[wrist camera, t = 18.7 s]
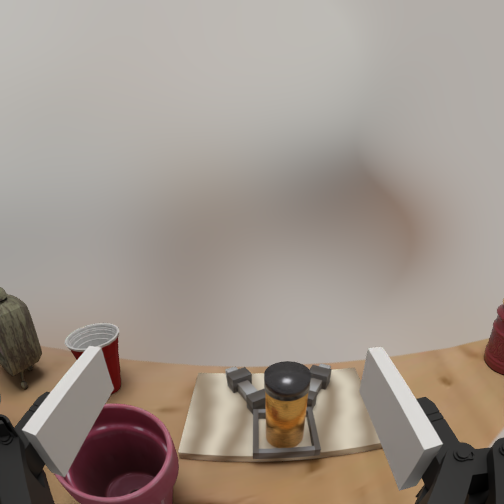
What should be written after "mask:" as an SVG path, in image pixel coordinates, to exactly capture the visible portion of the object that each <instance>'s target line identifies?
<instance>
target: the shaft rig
mask: <svg viewBox="0 0 504 504" xmlns="http://www.w3.org/2000/svg"><path fill="white" fill-rule="evenodd" d="M330 368H331V366H329V365H325V364H320V365H319V366H315V365H312V367H311V368H310V372H311V382H310V390H309V392H308V400H307V409H306V418H305V426H304V434H303V439H302V441H301V442H300V443H299V444H298V445H297V446H295V447H292V448H276V447H274V446H272V445H271V444H269V443H268V441H267V440H266V398H265V389H264V373H262V374H251V373H250V372H249V371H248V370H247V369H246V368H245V367H244V368H241V369H237V368H236V367H232V368H229V369H225V370H226V374H221V373H198V377H197V381H196V384H195V388H194V392H193V396H192V400H191V404H190V407H189V411H188V415H187V419H186V423H185V427H184V431H183V435H182V439H181V443H180V447H179V451H178V453H179V456H180V458H185V459H195V460H209V461H230V462H269V461H291V460H304V459H315V458H324V457H332V456H340V455H346V454H353V453H359V452H364V451H370V450H375V449H380V448H383V447H382V445H381V443H380V440H379V438H378V435H377V433H376V430H375V428H374V425H373V423H372V421H371V418H370V416H369V413H368V411H367V409H366V406H365V404H364V402H363V399H362V397H361V395H360V392H359V389H360V385H361V380H360V378H359V376H358V374H357V372H356V369H355V368H346V369H335V370H332V369H330Z"/></svg>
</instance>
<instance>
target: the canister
mask: <svg viewBox="0 0 504 504" xmlns="http://www.w3.org/2000/svg"><path fill="white" fill-rule="evenodd" d="M497 313H498V316H497V319H496V320H495V321H494V323H493V329H492V332H491V335H490V338H489V342H488V344H487V345H486V348H485V354H484V359H485V361H486V363H487V364H488V366H489V367H490V368H492V369H493V370H495V371H496V372H498V373H501V374H504V299H503V305H500V306H499V307H498V309H497Z"/></svg>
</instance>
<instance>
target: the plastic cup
mask: <svg viewBox="0 0 504 504" xmlns="http://www.w3.org/2000/svg"><path fill="white" fill-rule="evenodd" d="M118 335H119V329H118V327H117V326H115V325H114V324H109V323H96V324H92V325H87V326H84V327H82V328H79V329H77V330H75V331H73V332H72V333H70V334H69V335H68V336H67V337H66V339H65V345H66V346H67V347H68V348H69V349H70V350H71V352H72V353H73V355H74V356H75V358H76V359H77V360H78V358H79V357H80V356H81V355H82V354H83V353H84V351H85V350H86V349H87V348H88V347H89V346H94V347H101V348H102V352H103V355H104V359H105V362H106V365H107V369H108V372H109V375H110V378H111V381H112V384H113V387H114V390H113V391H112V393H111V394H113V393H115V392H117V391H118V390H119V389H120V386H121V378H120V364H119V354H118Z"/></svg>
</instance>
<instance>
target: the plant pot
mask: <svg viewBox="0 0 504 504" xmlns="http://www.w3.org/2000/svg"><path fill="white" fill-rule="evenodd" d="M178 469H179V464H178V457H177V453H176V450H175V447H174V444H173V441H172V438H171V436H170V433H169V431H168V430H167V428H166V427H165V425H164V424H163V423H162V422H161V421H160V420H159V419H158V418H157V417H156V416H154V415H153V414H151V413H149V412H148V411H146V410H143V409H141V408H138V407H135V406H131V405H125V404H105V405H104V407H103V409H102V410H101V412H100V414H99V416H98V417H97V419H96V421H95V423H94V424H93V426H92V428H91V430H90V432H89V433H88V435H87V437H86V439H85V441H84V442H83V444H82V446H81V448H80V450H79V452H78V453H77V455H76V457H75V459H74V461H73V463H72V465H71V467H70V468H69V470H68V472H67V474H66V476H65V477H62V476H60V475H57V474H55V473H54V474H55V476H56V477H57V479H58V480H59V482H60V483H61V484H62V485H63V486H64V488H65V489H66V490H67V491H68V492H69V493H70V494H71V495H72V496H73V497H74V499H76V500H77V501H78V502H79V503H81V504H172V498H173V486H174V484H175V482H176V479H177V476H178Z"/></svg>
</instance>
